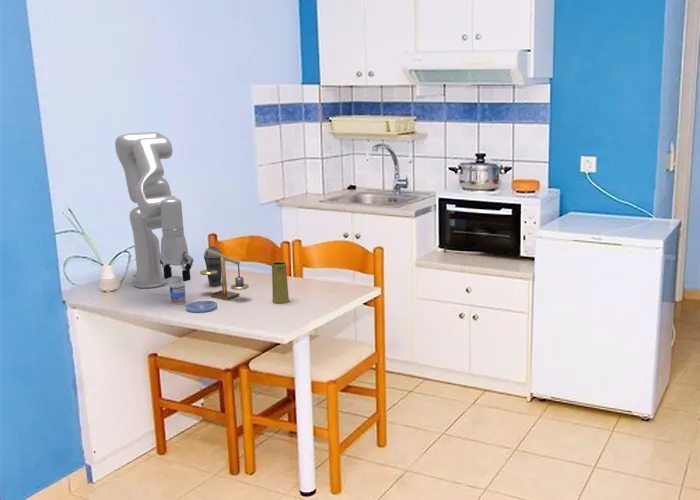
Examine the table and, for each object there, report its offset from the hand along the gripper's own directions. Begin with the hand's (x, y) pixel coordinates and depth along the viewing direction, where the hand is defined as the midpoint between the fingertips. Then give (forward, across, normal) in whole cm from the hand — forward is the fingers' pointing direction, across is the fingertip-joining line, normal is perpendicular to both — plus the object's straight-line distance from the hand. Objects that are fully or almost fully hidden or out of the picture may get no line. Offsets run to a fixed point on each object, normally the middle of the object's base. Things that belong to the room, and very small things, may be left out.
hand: (177, 279), depth 279 cm
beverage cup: (+9, -6, +24) cm, 27 cm away
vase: (+10, +31, +20) cm, 38 cm away
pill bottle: (+9, -1, 0) cm, 9 cm away
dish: (+9, +12, -1) cm, 15 cm away
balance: (+9, +9, +14) cm, 19 cm away
